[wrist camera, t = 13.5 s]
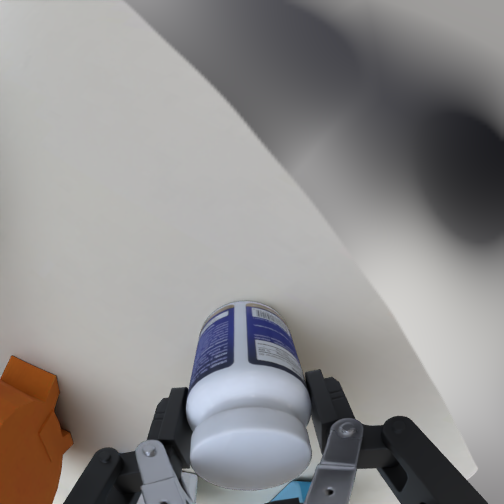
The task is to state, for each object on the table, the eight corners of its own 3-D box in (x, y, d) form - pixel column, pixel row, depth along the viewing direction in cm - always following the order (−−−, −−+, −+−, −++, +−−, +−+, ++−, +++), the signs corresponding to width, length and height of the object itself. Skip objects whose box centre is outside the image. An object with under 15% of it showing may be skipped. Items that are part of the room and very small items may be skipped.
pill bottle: (212, 377, 19) (199, 499, 10) (190, 305, 18) (150, 425, 8) (294, 364, 19) (326, 484, 10) (283, 289, 18) (324, 404, 8)
